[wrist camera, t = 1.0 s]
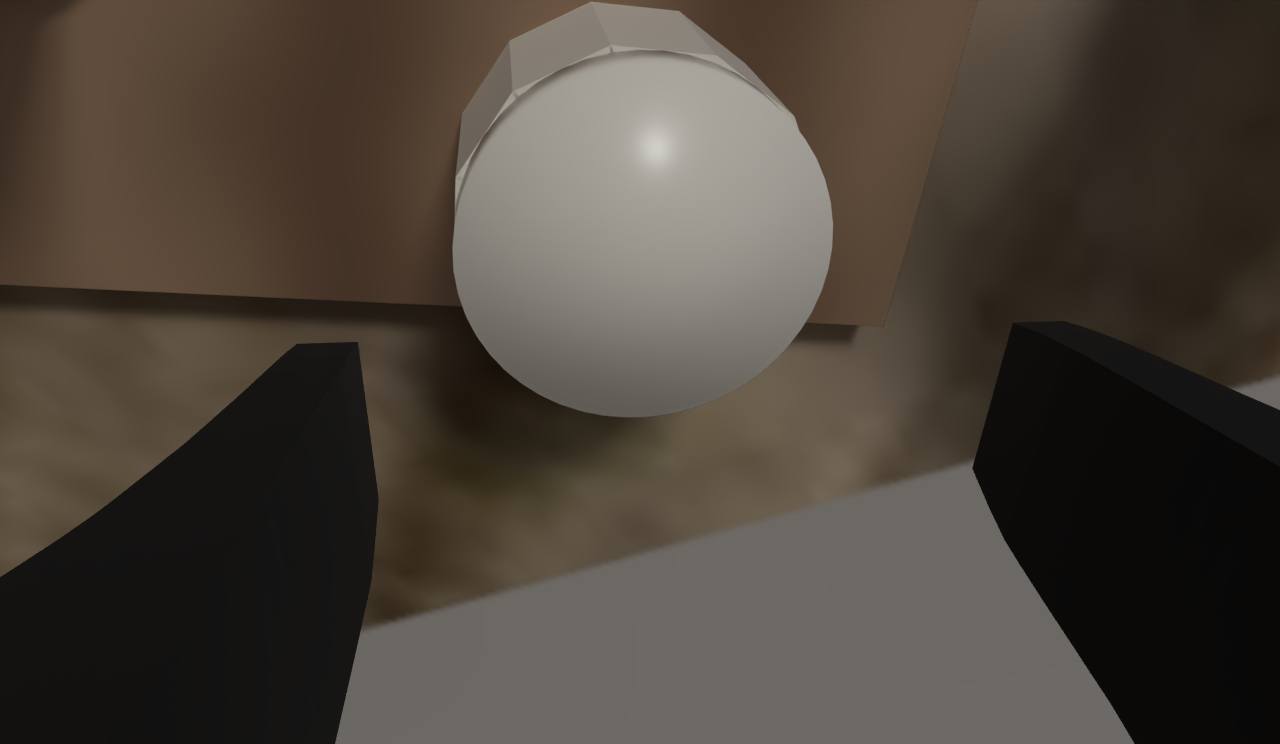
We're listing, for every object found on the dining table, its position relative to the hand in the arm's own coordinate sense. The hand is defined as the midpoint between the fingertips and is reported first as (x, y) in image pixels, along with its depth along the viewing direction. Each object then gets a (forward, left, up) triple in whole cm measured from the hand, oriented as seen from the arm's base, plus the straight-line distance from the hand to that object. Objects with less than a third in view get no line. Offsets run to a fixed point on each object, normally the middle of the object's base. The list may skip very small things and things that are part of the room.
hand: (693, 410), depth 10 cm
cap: (0, 0, -8) cm, 8 cm away
